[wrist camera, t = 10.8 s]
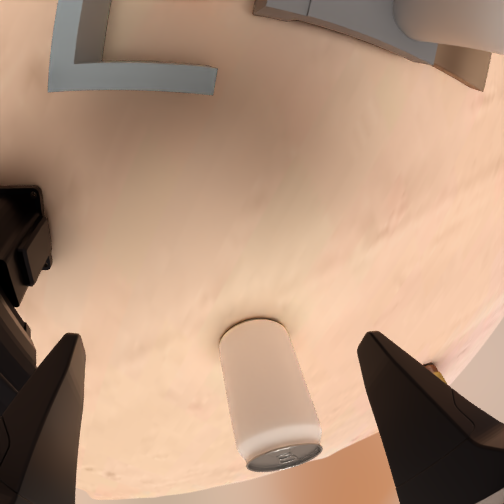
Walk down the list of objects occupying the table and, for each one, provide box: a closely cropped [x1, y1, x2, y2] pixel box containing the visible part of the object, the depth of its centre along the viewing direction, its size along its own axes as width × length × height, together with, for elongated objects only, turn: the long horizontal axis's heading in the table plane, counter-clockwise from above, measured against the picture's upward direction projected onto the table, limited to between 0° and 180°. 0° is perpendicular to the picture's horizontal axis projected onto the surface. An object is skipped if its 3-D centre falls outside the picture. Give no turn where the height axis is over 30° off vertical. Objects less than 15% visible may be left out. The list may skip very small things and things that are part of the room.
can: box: [219, 319, 323, 472], centre depth 24 cm, size 6×6×12 cm
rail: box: [431, 43, 492, 92], centre depth 16 cm, size 10×4×1 cm, turn 80°
